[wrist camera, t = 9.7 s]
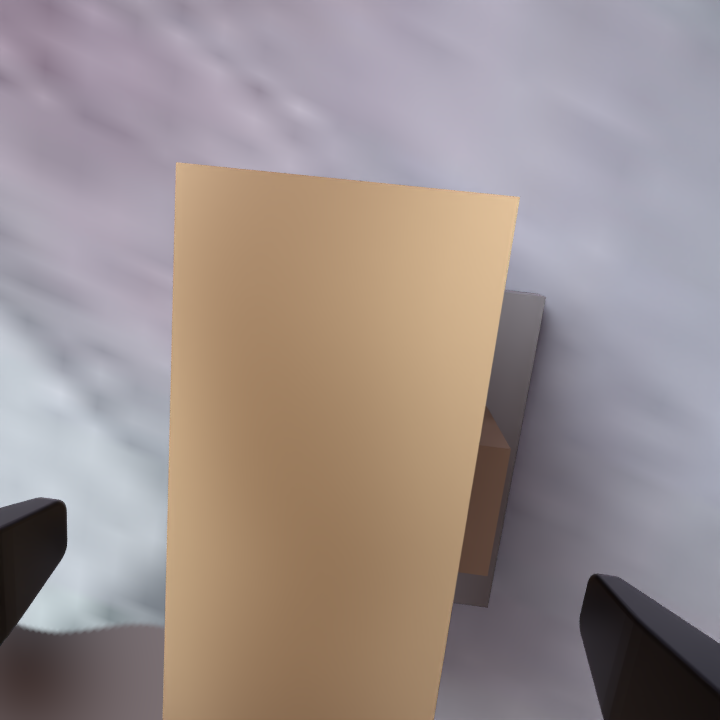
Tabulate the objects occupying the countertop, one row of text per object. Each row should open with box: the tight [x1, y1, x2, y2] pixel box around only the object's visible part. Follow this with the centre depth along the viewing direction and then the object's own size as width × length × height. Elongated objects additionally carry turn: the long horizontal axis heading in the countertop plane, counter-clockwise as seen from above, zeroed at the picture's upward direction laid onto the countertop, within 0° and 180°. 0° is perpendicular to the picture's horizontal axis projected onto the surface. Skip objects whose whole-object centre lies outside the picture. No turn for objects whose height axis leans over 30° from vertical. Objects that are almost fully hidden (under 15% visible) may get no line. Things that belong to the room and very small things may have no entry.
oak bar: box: [163, 162, 520, 720], centre depth 9 cm, size 4×12×4 cm, turn 174°
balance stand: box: [453, 290, 546, 608], centre depth 13 cm, size 9×9×4 cm
